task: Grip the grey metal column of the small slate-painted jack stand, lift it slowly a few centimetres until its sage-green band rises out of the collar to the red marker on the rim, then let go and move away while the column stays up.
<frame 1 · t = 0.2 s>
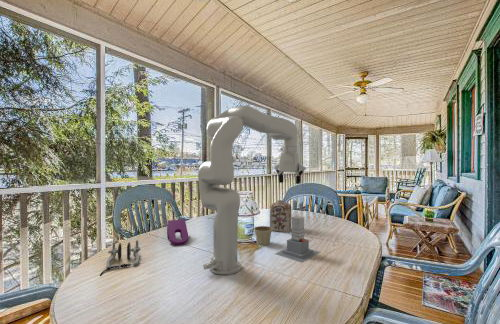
hand: (289, 183, 134), 31 cm above the table, tool pointing down, fingers open, 9 cm apart
decorative jar: (280, 229, 159), on the table
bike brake: (123, 264, 106), on the table
column: (297, 233, 115), point 10 cm above the table, slide at 1.2 cm
mounting bracket: (177, 241, 137), on the table
stand base: (297, 255, 115), on the table
flower pot: (263, 246, 129), on the table
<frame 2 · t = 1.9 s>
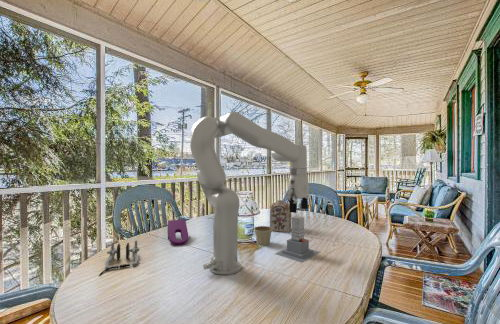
hand: (298, 210, 115), 20 cm above the table, tool pointing down, fingers open, 9 cm apart
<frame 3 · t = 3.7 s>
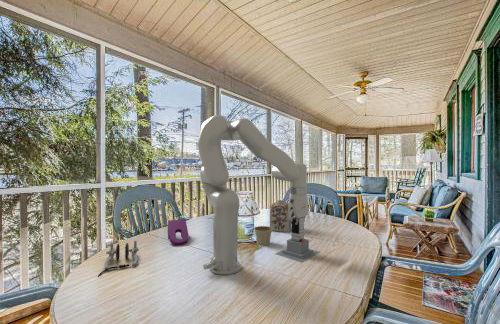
hand: (297, 231, 115), 11 cm above the table, tool pointing down, fingers closed on column, 4 cm apart
column: (297, 233, 115), point 10 cm above the table, slide at 1.2 cm, touching gripper
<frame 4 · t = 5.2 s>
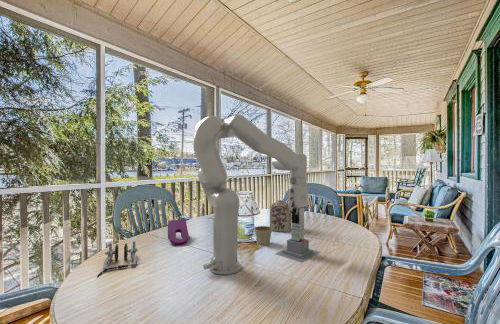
hand: (297, 221, 115), 15 cm above the table, tool pointing down, fingers closed on column, 4 cm apart
column: (297, 223, 115), point 14 cm above the table, slide at 5.5 cm, touching gripper
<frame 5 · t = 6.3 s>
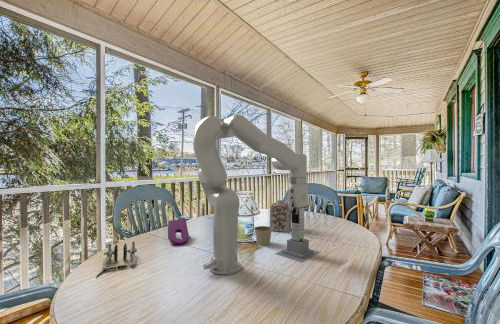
hand: (297, 221, 115), 15 cm above the table, tool pointing down, fingers closed on column, 4 cm apart
column: (297, 223, 115), point 14 cm above the table, slide at 5.6 cm, touching gripper
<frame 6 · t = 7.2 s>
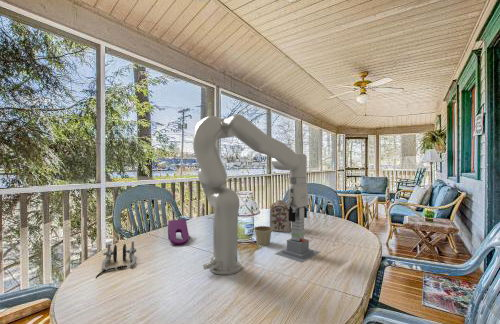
hand: (297, 219, 115), 16 cm above the table, tool pointing down, fingers open, 9 cm apart
column: (297, 223, 115), point 14 cm above the table, slide at 5.6 cm
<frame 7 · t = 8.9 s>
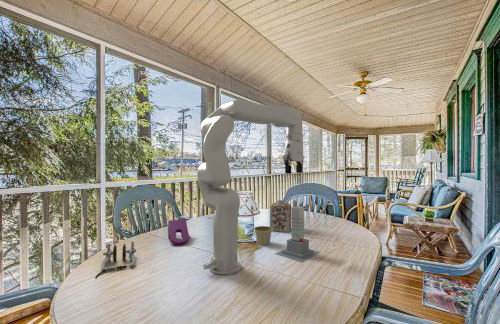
hand: (293, 173, 126), 36 cm above the table, tool pointing down, fingers open, 9 cm apart
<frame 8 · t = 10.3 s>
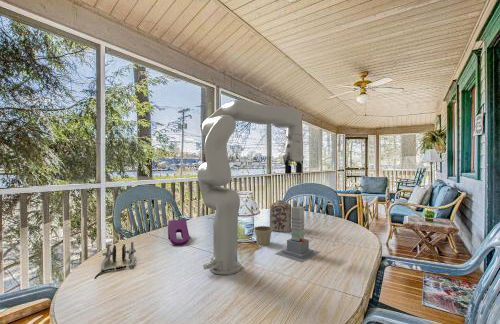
hand: (293, 173, 127), 36 cm above the table, tool pointing down, fingers open, 9 cm apart
at the end: column slide at 5.6 cm; the gripper is holding nothing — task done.
